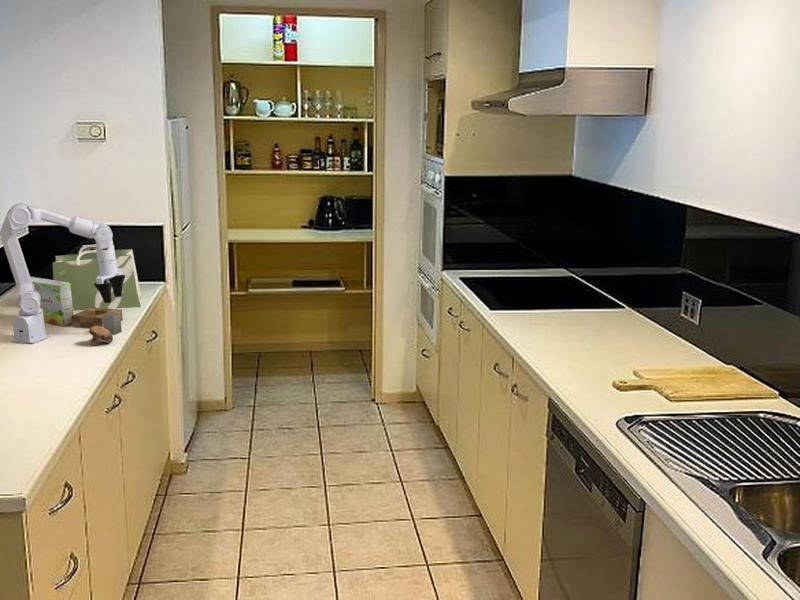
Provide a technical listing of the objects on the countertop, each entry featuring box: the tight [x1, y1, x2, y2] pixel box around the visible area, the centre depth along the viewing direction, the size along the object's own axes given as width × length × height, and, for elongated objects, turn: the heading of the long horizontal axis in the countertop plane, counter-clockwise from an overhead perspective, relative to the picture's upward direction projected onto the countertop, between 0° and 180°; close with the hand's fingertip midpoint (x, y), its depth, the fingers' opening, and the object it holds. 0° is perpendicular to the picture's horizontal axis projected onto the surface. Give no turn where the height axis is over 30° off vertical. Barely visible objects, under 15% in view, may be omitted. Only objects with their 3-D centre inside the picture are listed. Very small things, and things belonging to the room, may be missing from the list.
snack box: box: [30, 276, 74, 328], centre depth 291 cm, size 21×6×15 cm, turn 62°
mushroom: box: [88, 326, 114, 346], centre depth 266 cm, size 8×8×6 cm
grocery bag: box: [52, 243, 142, 311], centre depth 313 cm, size 32×14×23 cm, turn 104°
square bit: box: [103, 313, 123, 336], centre depth 278 cm, size 4×4×6 cm
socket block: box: [71, 307, 124, 329], centre depth 289 cm, size 12×12×4 cm
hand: (113, 299), depth 278 cm, fingers open, 7 cm apart
